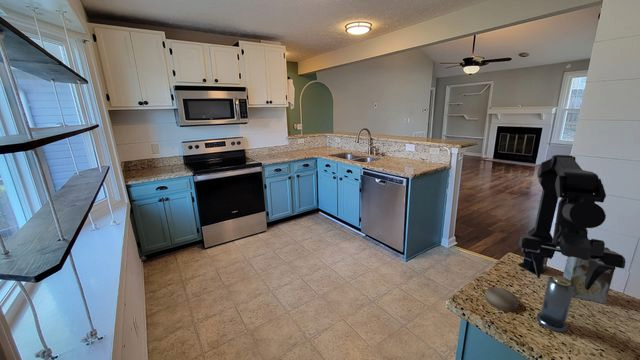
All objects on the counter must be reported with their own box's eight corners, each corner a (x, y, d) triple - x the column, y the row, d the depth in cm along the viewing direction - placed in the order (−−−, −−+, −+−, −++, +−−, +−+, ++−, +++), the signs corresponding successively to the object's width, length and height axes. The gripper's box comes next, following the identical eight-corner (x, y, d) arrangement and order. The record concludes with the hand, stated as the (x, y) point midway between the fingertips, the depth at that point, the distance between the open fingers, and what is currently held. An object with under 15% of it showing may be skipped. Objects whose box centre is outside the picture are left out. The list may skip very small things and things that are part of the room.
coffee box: (596, 292, 86) (609, 247, 81) (605, 304, 80) (620, 257, 76) (559, 284, 90) (570, 241, 86) (566, 295, 84) (577, 250, 80)
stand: (498, 289, 88) (499, 284, 87) (524, 307, 80) (525, 301, 79) (478, 295, 85) (479, 290, 85) (503, 314, 78) (504, 308, 77)
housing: (546, 312, 78) (556, 270, 74) (572, 328, 72) (584, 284, 68) (531, 317, 76) (540, 275, 72) (556, 335, 70) (568, 289, 66)
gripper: (529, 218, 64) (519, 281, 65) (643, 236, 54) (631, 310, 55) (522, 214, 73) (514, 269, 74) (619, 228, 64) (608, 291, 65)
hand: (561, 283), depth 67 cm, fingers open, 9 cm apart
